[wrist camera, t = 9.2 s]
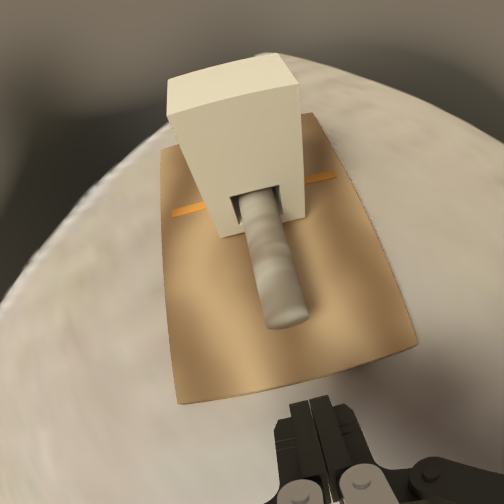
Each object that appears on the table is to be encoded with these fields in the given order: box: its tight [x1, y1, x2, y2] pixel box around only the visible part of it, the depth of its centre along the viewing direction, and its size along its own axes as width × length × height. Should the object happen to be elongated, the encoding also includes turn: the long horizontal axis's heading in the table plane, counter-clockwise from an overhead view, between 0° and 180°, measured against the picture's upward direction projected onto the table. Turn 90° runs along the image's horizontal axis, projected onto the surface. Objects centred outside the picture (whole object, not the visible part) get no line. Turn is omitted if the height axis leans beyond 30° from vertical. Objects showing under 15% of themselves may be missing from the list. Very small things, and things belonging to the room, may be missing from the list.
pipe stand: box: [160, 113, 418, 405], centre depth 22 cm, size 16×24×7 cm, turn 11°
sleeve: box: [167, 53, 305, 238], centre depth 19 cm, size 6×4×11 cm, turn 101°
